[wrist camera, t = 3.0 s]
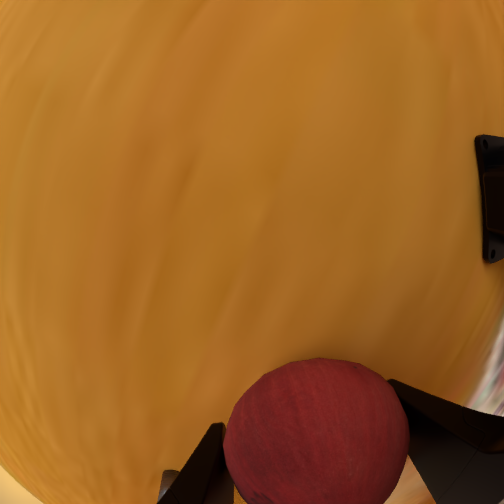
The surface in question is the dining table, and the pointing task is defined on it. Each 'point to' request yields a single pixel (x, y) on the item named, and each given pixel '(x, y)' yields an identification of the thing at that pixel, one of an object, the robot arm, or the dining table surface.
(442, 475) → the robot arm
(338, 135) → the dining table surface
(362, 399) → the onion
